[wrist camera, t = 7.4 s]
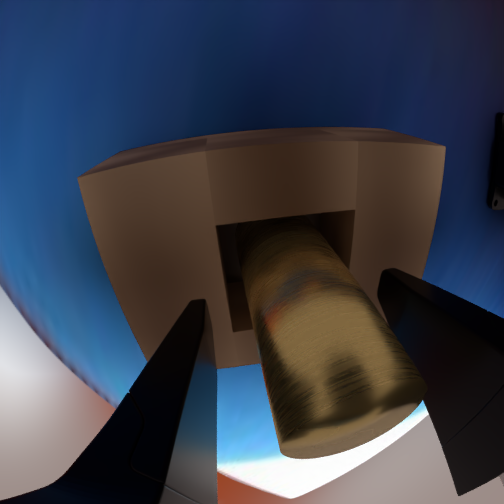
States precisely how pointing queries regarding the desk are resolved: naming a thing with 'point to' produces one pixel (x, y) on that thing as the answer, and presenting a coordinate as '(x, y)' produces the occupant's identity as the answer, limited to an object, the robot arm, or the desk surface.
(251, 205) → the bore block
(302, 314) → the brass pin
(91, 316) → the desk surface
